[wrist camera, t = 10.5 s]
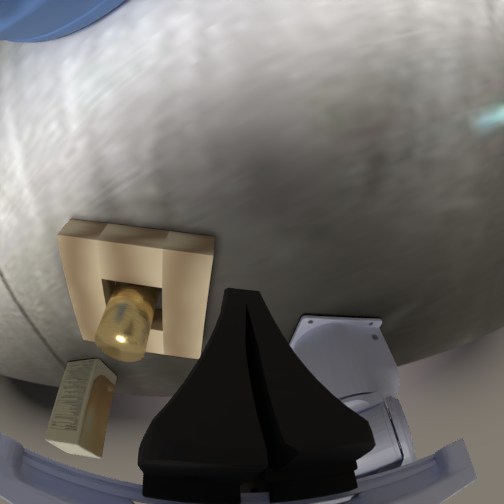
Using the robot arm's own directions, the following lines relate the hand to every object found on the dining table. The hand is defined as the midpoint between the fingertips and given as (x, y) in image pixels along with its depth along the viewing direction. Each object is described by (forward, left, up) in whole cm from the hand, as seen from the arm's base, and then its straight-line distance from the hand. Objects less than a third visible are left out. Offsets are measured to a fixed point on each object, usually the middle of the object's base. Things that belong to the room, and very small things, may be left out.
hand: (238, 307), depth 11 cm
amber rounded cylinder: (+7, +9, -10) cm, 15 cm away
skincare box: (+15, +25, -11) cm, 31 cm away
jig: (+7, +9, -10) cm, 15 cm away
